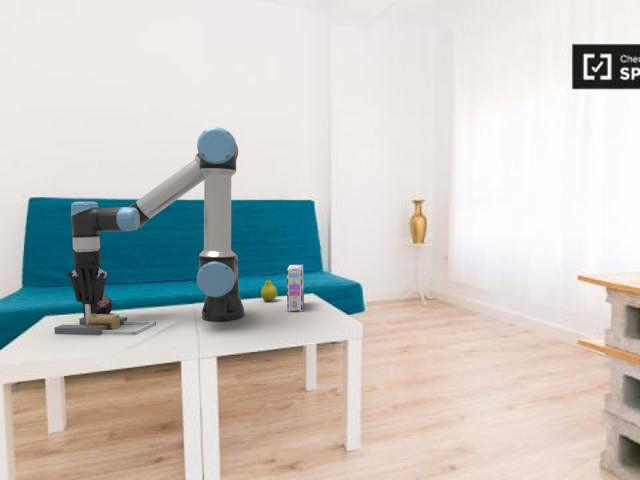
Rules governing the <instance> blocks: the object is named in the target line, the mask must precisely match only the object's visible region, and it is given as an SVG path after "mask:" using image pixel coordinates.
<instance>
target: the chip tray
mask: <svg viewBox="0 0 640 480" xmlns="http://www.w3.org/2000/svg"><path fill="white" fill-rule="evenodd" d="M124 325H125V326H126V325H127V326H141V327H139V328H137V329H135V330H119V329H118V330H117V329H114V330H102V334H101V335H112V336H113V335H119V336H120V335H121V336H136V335H138V334H140V333H143V332H144V331H146V330H148V329H150V328H152V327H154V326H156V325H157V321H150V320H148V321H146V320H145V321H142V320H141V321H140V320H139V321H137V320H127V321H124ZM124 325H123V326H124Z"/></svg>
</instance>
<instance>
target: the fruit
mask: <svg viewBox="0 0 640 480" xmlns="http://www.w3.org/2000/svg"><path fill="white" fill-rule="evenodd" d="M264 275H265V276H266V277H267V280H266V281H265V283H264V286H263V287H262V289H261V290H260V295H261V297H262V299H263V300H264V301H265V302H273V301H274V300H276V298H277V297H278V289H277V287H276V286H274V285H273V283H272V281H271V280H270V279H269V277H268V275H267V274H266V273H264Z"/></svg>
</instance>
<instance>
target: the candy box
mask: <svg viewBox="0 0 640 480" xmlns="http://www.w3.org/2000/svg"><path fill="white" fill-rule="evenodd" d="M304 285H305V283H304V264H289V266H288V267H287V269H286V299H287V302H286V303H287V304H286V305H287V312H288V313H289V312H291V313H292V312H293V313H294V312H296V313H298V312H299V313H300V312H303V309H304V306H305V291H304V290H305V286H304Z"/></svg>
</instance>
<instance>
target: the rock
mask: <svg viewBox="0 0 640 480" xmlns="http://www.w3.org/2000/svg"><path fill="white" fill-rule="evenodd" d="M113 306H114V302H113V300H112V299H111V298H110V296H108V295H106V294H103V300H102V301H99V302H97V313H96V314H107V315H110V313H111V312H112V310H113ZM82 313H83V317H86V315H85V314H84V311H83V310H82Z"/></svg>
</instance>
